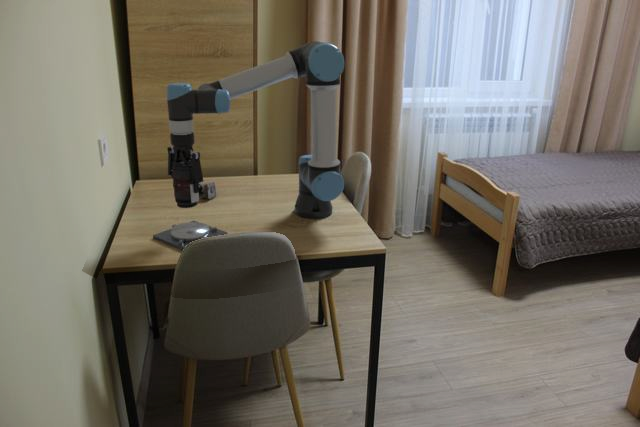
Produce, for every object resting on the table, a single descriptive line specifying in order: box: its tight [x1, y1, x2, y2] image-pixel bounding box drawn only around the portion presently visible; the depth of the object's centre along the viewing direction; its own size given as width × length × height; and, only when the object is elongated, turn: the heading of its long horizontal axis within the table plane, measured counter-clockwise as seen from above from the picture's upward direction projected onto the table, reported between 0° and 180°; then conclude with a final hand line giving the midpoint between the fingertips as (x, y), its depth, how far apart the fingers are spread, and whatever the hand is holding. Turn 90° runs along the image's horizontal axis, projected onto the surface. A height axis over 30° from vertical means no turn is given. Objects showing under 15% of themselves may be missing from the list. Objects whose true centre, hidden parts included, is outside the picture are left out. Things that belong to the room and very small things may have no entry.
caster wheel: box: [199, 181, 217, 200], centre depth 220 cm, size 7×11×10 cm
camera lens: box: [171, 160, 198, 209], centre depth 172 cm, size 8×8×15 cm
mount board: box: [152, 220, 228, 251], centre depth 179 cm, size 18×18×3 cm
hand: (186, 198), depth 174 cm, fingers closed on camera lens, 8 cm apart
